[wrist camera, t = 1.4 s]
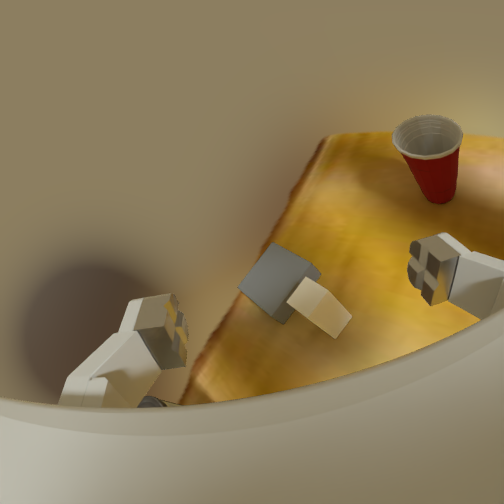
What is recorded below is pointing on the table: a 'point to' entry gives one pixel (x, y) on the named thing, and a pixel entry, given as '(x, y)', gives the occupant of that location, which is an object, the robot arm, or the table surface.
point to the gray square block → (277, 280)
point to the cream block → (320, 307)
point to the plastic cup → (431, 153)
